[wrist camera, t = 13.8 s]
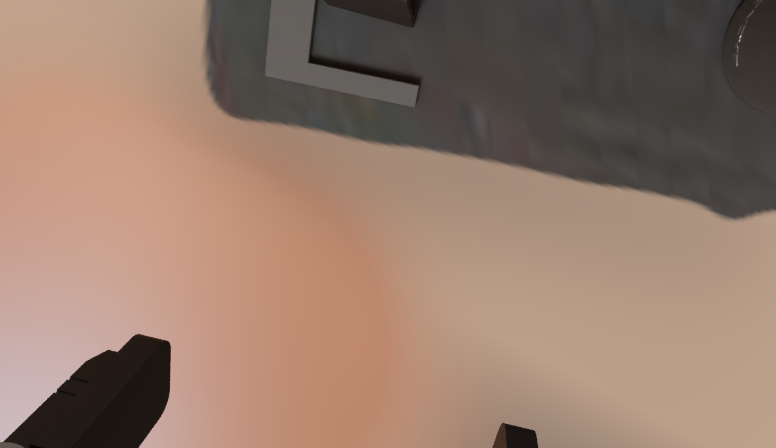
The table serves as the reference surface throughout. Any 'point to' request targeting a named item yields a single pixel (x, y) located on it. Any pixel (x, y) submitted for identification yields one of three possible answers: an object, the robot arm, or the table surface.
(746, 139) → the table surface
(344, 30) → the table surface
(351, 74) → the bracket
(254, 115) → the table surface
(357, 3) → the phone stand
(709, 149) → the table surface
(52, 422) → the robot arm
